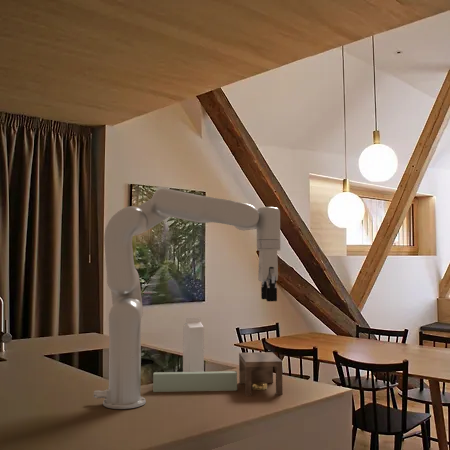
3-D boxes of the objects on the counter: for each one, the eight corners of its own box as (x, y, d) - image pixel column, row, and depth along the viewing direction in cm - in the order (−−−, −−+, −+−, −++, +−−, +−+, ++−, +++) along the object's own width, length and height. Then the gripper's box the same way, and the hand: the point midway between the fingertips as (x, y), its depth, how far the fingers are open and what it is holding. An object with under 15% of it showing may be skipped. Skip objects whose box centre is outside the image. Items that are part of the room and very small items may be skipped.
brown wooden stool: (245, 395, 170) (245, 362, 171) (239, 382, 188) (239, 352, 189) (282, 394, 171) (282, 361, 172) (272, 382, 189) (272, 352, 190)
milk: (182, 376, 199) (182, 317, 200) (197, 375, 202) (197, 316, 203) (189, 379, 193) (189, 319, 195) (204, 378, 196) (204, 318, 198)
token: (253, 391, 177) (253, 385, 177) (251, 387, 182) (251, 382, 182) (268, 390, 177) (268, 385, 177) (265, 387, 182) (265, 382, 182)
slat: (153, 392, 175) (153, 374, 176) (153, 390, 178) (153, 372, 179) (237, 391, 177) (236, 372, 177) (236, 389, 180) (236, 371, 180)
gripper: (252, 246, 176) (253, 298, 175) (261, 245, 159) (261, 302, 157) (275, 246, 176) (275, 298, 175) (285, 245, 159) (286, 302, 158)
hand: (268, 300), depth 166 cm, fingers open, 9 cm apart
